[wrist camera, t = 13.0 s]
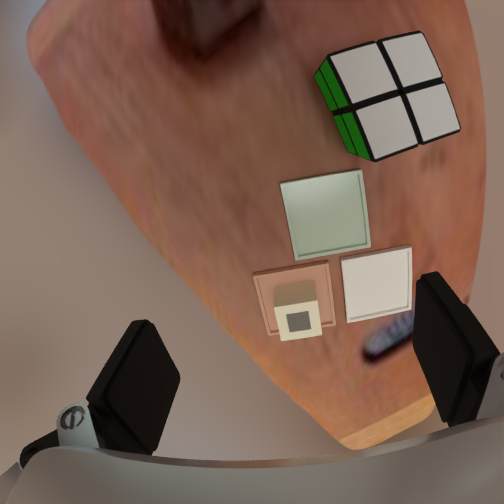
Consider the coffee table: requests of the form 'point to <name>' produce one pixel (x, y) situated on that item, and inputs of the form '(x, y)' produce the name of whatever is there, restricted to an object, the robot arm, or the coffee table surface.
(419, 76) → the puzzle cube
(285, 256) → the coffee table surface
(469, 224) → the coffee table surface
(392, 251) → the dish offwhite
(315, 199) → the dish sage
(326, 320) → the dish terracotta
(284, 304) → the cream cube
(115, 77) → the coffee table surface
